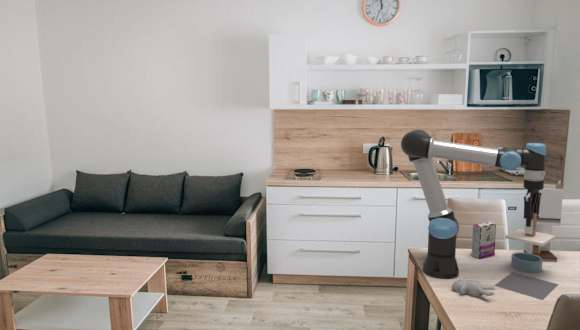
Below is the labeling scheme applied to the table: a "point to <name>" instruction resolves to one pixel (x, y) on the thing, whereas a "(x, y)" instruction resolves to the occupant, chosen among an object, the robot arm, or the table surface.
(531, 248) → the display case
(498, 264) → the table surface
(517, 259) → the slate bowl
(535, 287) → the rubber mat
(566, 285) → the table surface
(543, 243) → the cream lid
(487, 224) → the candy bar box
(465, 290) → the bunny figurine
